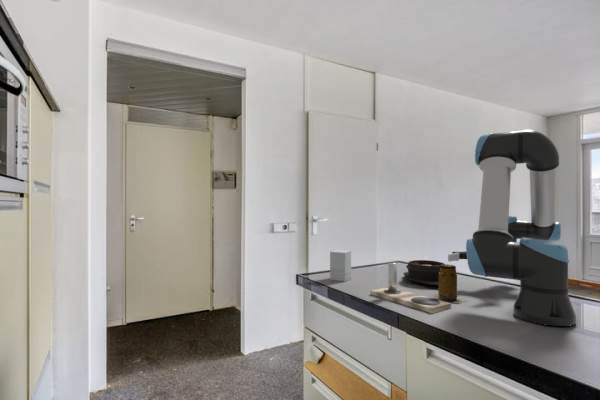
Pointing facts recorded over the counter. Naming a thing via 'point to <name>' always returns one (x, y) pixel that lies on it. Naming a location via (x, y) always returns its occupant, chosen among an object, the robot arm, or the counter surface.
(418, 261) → the casserole
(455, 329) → the counter surface
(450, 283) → the condiment
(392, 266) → the steel post
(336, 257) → the supplement box
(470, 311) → the counter surface
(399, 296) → the board
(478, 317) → the counter surface
